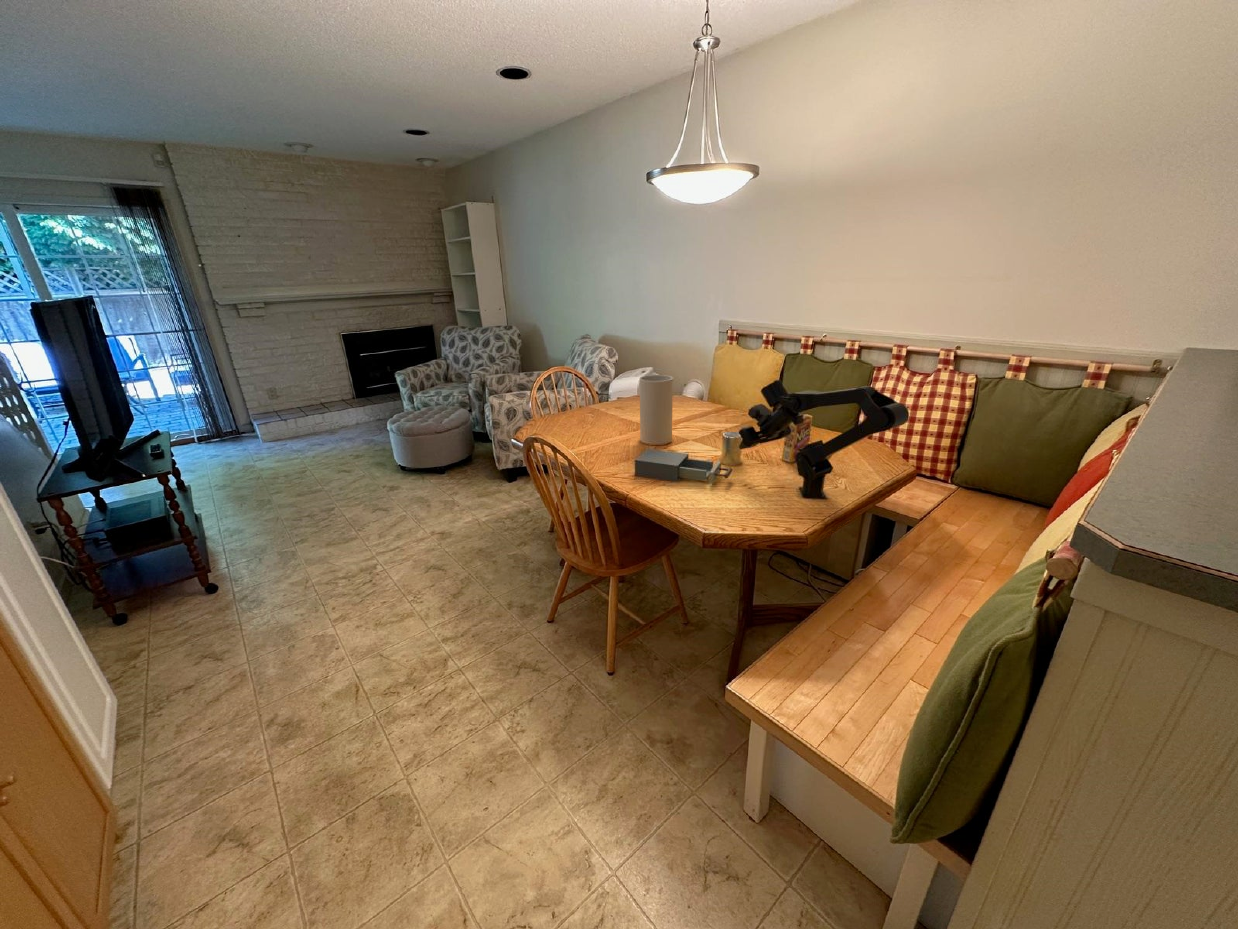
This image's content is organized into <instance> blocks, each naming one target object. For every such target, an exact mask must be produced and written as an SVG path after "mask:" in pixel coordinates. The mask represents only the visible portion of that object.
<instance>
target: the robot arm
mask: <svg viewBox="0 0 1238 929" xmlns="http://www.w3.org/2000/svg"><path fill="white" fill-rule="evenodd" d="M760 393H761V395H762V396H763V398H764V400H765V401H766V403H767V405H768V407H769V408H774V409H776V410H775V411H774V412H773V411H772V410H771V409H769V408H768V407H767V405H765V404H763V403H759V404H754V405H753V406H751V407H750V408H749V409H748V413H747V415H748V416H749V417H750V418H751V419H752V420H755V421H757V422H756V425H757V427H758V428H759V430H758V431H757V430H756V429H755V427H754V426H753V425H747V426H743V427H742V428H740V429H739V430H738V433H739V434H740V436H741V438H742V441H741V443H740V445H739V448H740V449H741V450H744V449H749V448H754V447H756V446H758V445H759V444H760V445H761V444H766V443H769V442H773V441H778V440H782V439H784V438H785V437H787V436H788V435H790V434H791V429H790V427H789V426H788V425H790V424H791V423H792V422H793V423H794V425H798V424H801V423H803V415H801V414H802V413H804V412H807V411H811V410H814V409H818V408H821V407H831V406H843V405H849V404H850V405H851V404H856V405H857V406H859V408H860V410H861V411H862V414H863V415H864V416H865V418H864V419H863V420H862V422H860V423H859V424H857V425H855V426H853V427H851V428H850V429H848V430H846V431H843V432H842V433H840V434H838V435H836V436H835V437H833V438H831V439H829V440H827V441H826V442H824V441H823V439H820V440H815V441H813V442H809V444H808V445H807V446H805V447H804V448H801V449H798V450H799V451H800V452H798V453H797V454H796V458H795V459H796V461H795V464H796V469H797V473H798V474H797V475H798V476H799V477H802V478H803V479H802V486H799V487H798V490H799V493H800V495H801V498H805V499H827V495H826V494H825V492H824V486H825V480H826V475H829V474H831V473H832V471H833V469H834V466H833V465H832V463H831V462H830V459H831V458H832V457H833V455H835V454H837V453H839V452H841V451H843V450H845V449H847V448H849V447H851V446H853V445H854V444H856V443H858V442H861V441H863V440H864V439H866V438H868V437H870V436H872V435H875V434H878V433H882V432H885V431H889V430H891V429H894V428H897V427H901V426H904V425H905V424H906V423H907V422H908V421H909V417H910V411H909V408H907V406H906V405H904V404H903V403H900V402H897V401H896V400H895V399H893V397H890V396H888V395H886V394H884V393H882V392H879V390H877V389H876V388H875V387H873V386H871V385H863V386H860V387H854V388H846V389H839V390H831V391H819V390H810V389H807V390H802V391H797V392H791V393H788V391H787V390H786V387H785V386H784V384H783V382H782V381H781V379H775V380H774V381H773V382H771V383H769V384H767V385H766V386H763V387H762V388H761V389H760Z"/></svg>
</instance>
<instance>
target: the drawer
mask: <svg viewBox="0 0 1238 929" xmlns="http://www.w3.org/2000/svg"><path fill="white" fill-rule="evenodd" d="M722 471H725V473H721V472H722ZM732 472H733V467H728V468H726V467H722V462H721V460H717V461H716V462H715V464H714V461H711V460H704V459H698V458H697V459H696V458H689V457H688V458H686V459H685V460H684V461H683V463H682V464H681V465H680V466H679V467H678V477H681V478H680V479H689V480H696V481H703V482H706V481H707V479H709V480H708V484H711V485H712V484H714V483H715V481H716V480H717V478H718V477H723V478H724V479H729V478H730V476H731V475H732Z"/></svg>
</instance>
